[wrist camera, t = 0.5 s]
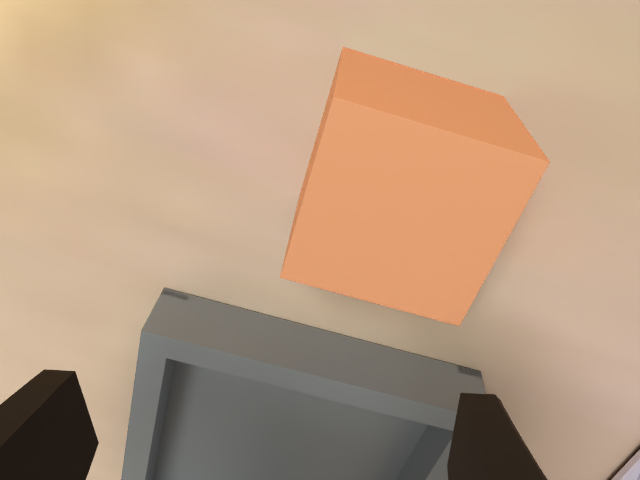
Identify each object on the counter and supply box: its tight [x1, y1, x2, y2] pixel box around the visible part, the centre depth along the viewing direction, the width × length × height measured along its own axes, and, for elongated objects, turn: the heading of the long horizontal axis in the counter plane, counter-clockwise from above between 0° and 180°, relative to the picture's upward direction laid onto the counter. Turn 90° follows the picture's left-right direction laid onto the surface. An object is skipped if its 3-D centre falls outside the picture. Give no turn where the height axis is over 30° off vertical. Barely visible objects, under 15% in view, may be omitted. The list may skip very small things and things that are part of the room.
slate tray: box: [121, 288, 486, 480], centre depth 24 cm, size 13×15×2 cm
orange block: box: [280, 47, 550, 326], centre depth 15 cm, size 5×5×5 cm
